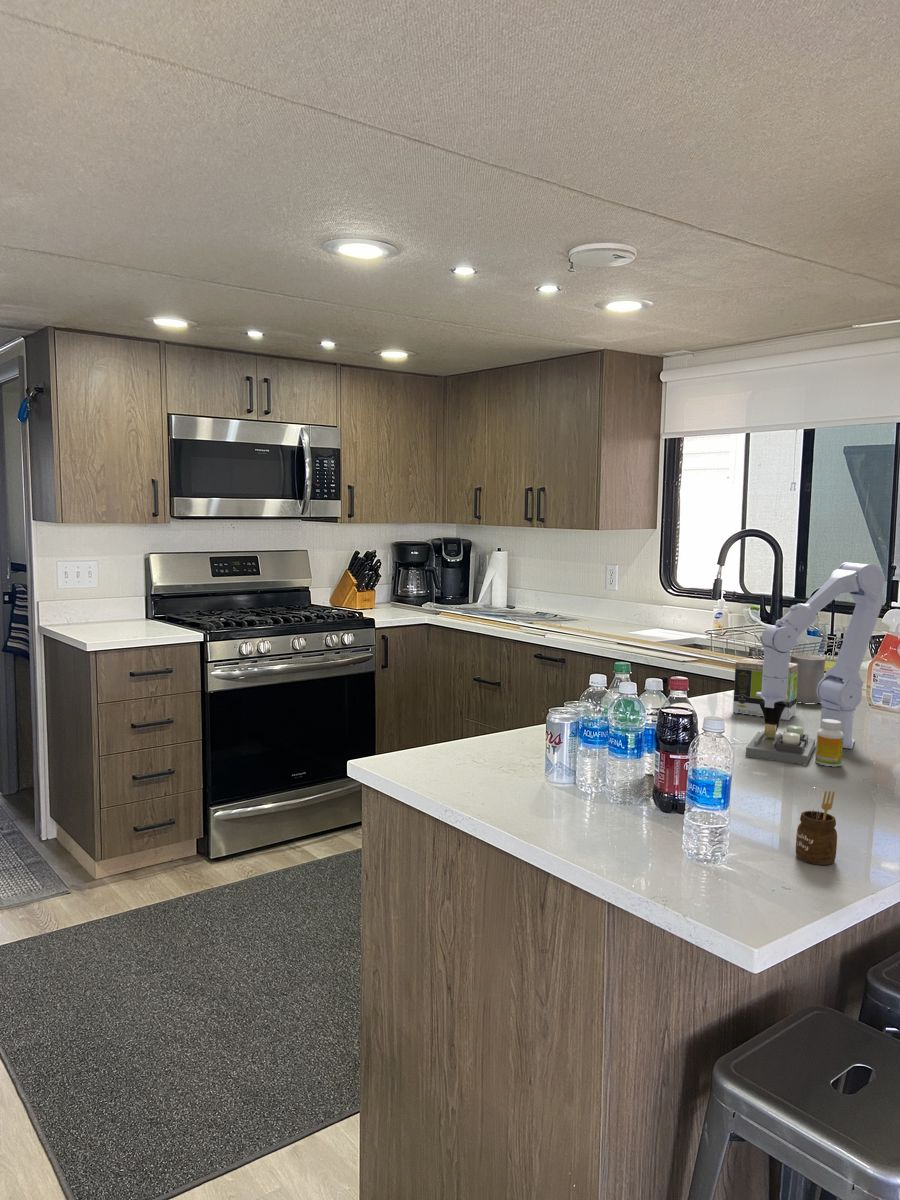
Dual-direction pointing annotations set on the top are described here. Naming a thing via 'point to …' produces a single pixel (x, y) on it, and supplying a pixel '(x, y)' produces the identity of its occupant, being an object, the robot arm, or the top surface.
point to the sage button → (796, 730)
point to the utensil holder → (817, 834)
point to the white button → (791, 739)
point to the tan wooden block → (770, 730)
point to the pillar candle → (808, 676)
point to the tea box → (760, 688)
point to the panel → (780, 749)
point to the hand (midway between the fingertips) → (771, 732)
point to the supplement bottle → (829, 743)
